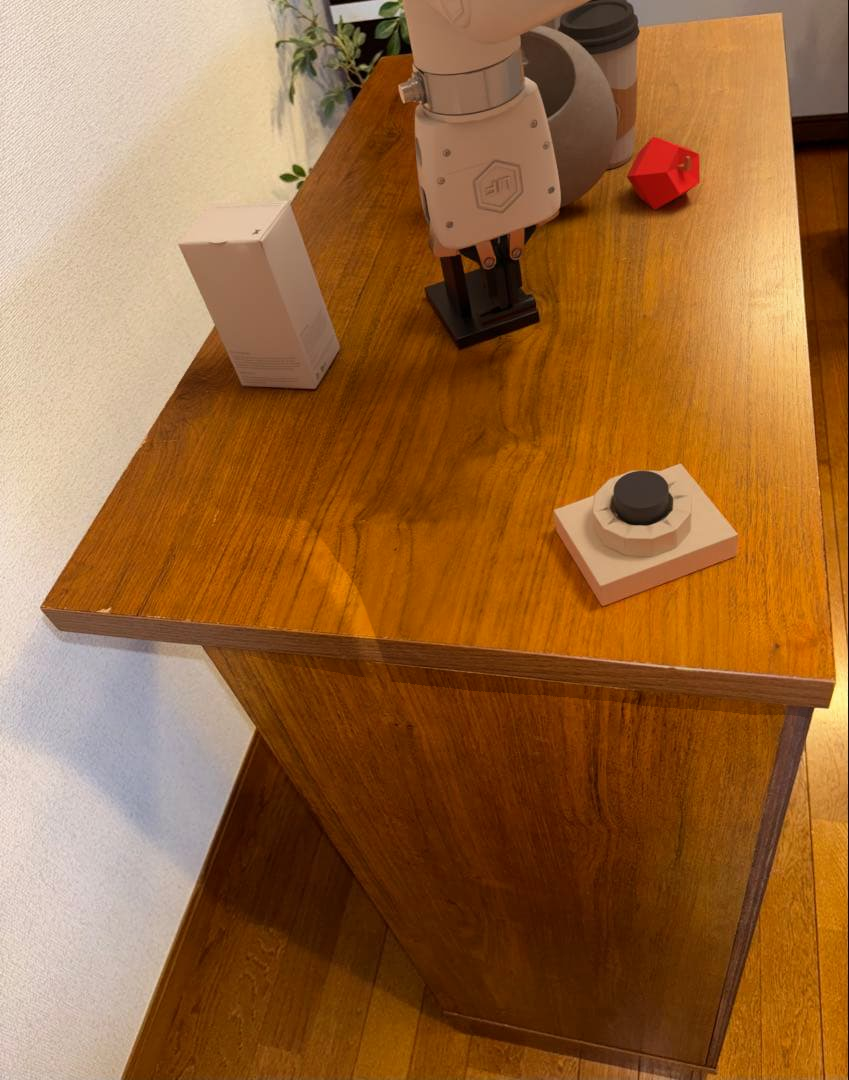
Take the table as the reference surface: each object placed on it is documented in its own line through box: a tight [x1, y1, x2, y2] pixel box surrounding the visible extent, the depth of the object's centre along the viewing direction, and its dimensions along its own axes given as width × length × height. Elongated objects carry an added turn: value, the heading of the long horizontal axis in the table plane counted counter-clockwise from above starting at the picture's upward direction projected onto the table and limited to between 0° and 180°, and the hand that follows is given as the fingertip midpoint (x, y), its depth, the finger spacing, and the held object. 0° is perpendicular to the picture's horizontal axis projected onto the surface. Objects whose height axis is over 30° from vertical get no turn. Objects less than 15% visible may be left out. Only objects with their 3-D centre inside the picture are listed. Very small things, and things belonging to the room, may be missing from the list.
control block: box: [553, 463, 739, 607], centre depth 68 cm, size 10×8×4 cm
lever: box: [477, 293, 537, 327], centre depth 85 cm, size 12×5×2 cm
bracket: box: [424, 237, 541, 350], centre depth 89 cm, size 10×8×12 cm
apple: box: [626, 135, 701, 211], centre depth 98 cm, size 7×7×8 cm
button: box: [614, 470, 669, 526], centre depth 66 cm, size 4×4×2 cm
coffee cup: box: [557, 0, 641, 170], centre depth 103 cm, size 8×8×15 cm
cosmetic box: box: [177, 200, 341, 390], centre depth 87 cm, size 8×7×16 cm
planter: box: [520, 25, 617, 209], centre depth 97 cm, size 18×7×19 cm, turn 72°
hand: (504, 298), depth 83 cm, fingers closed
